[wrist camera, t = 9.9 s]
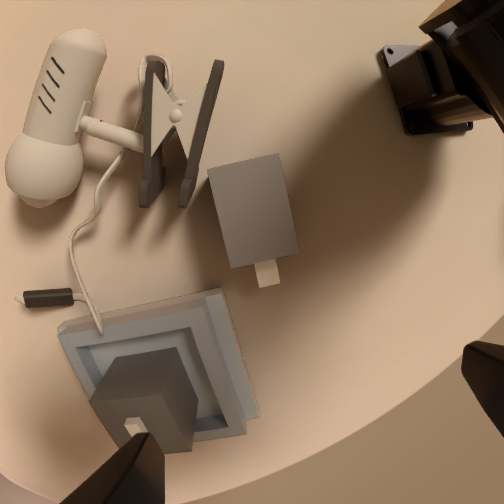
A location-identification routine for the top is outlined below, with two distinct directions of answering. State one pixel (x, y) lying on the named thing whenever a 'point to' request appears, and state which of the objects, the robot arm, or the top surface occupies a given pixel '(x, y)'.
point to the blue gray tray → (188, 345)
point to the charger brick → (148, 400)
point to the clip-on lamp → (100, 136)
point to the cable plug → (254, 215)
